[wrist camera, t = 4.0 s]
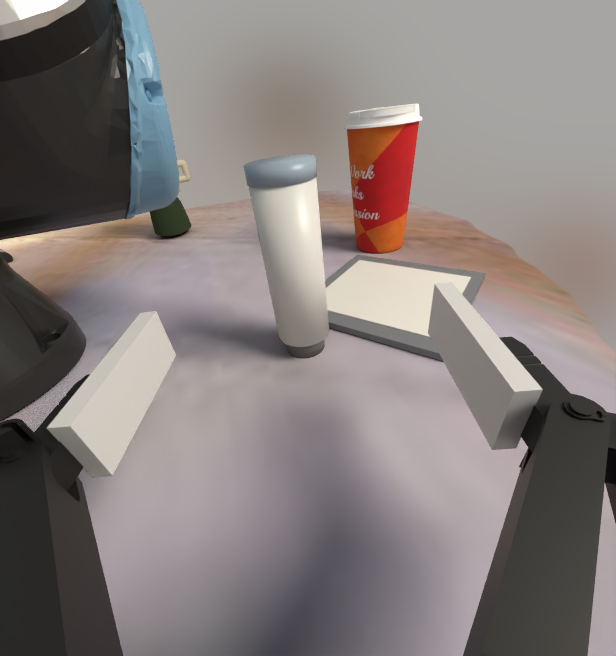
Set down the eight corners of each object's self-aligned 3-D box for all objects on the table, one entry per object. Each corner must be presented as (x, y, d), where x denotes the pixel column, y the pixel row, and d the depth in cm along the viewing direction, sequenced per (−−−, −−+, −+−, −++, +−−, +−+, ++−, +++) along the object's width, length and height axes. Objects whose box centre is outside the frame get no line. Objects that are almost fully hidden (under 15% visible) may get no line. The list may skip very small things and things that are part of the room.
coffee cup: (345, 237, 45) (340, 112, 37) (402, 231, 45) (411, 103, 36) (352, 260, 38) (348, 113, 30) (420, 253, 38) (436, 101, 29)
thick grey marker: (270, 353, 25) (228, 168, 17) (300, 326, 28) (274, 155, 20) (312, 369, 23) (285, 167, 15) (340, 339, 26) (328, 153, 18)
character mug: (201, 222, 61) (178, 146, 53) (209, 231, 55) (185, 147, 48) (142, 236, 57) (108, 156, 50) (145, 247, 52) (108, 159, 44)
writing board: (289, 316, 29) (288, 309, 29) (357, 259, 38) (357, 254, 38) (444, 361, 22) (445, 354, 22) (484, 278, 31) (485, 272, 31)
